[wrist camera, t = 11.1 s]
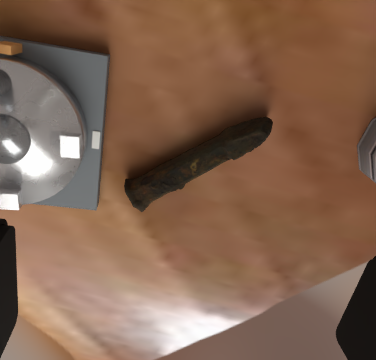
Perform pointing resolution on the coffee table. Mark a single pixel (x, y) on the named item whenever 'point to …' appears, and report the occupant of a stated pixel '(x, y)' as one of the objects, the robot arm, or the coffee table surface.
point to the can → (368, 151)
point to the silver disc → (36, 133)
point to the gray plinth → (89, 101)
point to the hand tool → (197, 162)
